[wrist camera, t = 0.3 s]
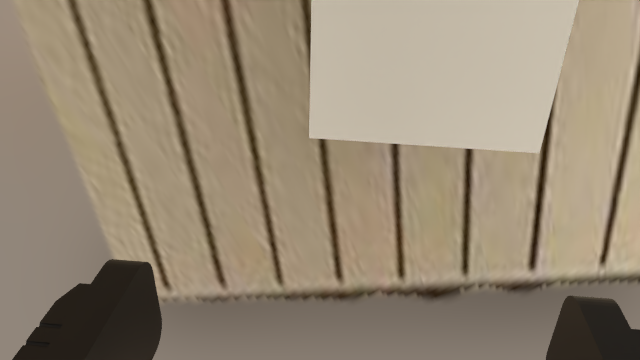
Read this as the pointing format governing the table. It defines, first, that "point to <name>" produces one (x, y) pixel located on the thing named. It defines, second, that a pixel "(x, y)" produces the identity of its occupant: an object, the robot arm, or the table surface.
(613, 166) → the table surface
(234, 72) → the table surface
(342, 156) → the table surface
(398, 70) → the mat
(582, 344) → the robot arm
